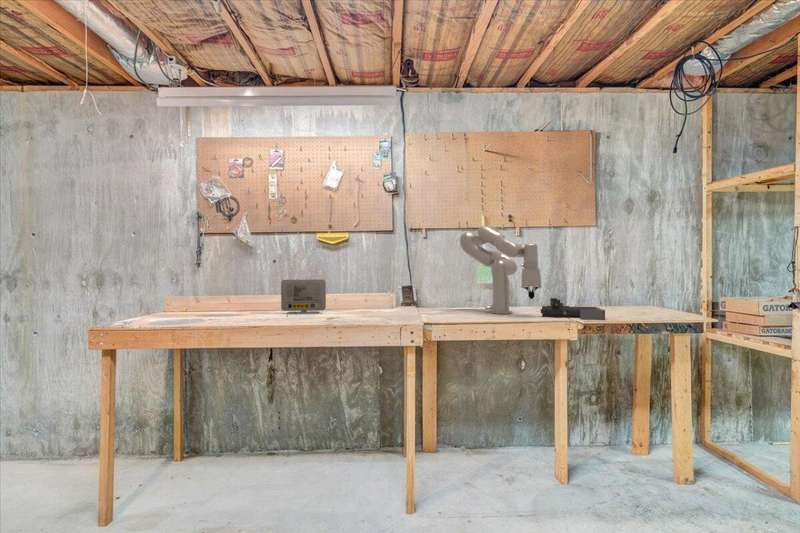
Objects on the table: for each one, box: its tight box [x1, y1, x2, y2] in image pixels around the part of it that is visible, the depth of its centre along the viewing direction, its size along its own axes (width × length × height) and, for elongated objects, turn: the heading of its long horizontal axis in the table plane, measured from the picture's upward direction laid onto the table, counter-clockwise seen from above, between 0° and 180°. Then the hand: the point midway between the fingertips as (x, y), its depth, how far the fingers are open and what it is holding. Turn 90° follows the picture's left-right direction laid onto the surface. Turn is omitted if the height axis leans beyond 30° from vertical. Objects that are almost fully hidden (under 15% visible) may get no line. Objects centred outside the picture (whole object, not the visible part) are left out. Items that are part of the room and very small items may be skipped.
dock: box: [573, 305, 606, 321], centre depth 226 cm, size 12×17×5 cm
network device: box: [280, 279, 327, 315], centre depth 246 cm, size 26×9×20 cm, turn 94°
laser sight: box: [540, 297, 585, 318], centre depth 229 cm, size 10×22×10 cm, turn 78°
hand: (531, 298), depth 231 cm, fingers closed
